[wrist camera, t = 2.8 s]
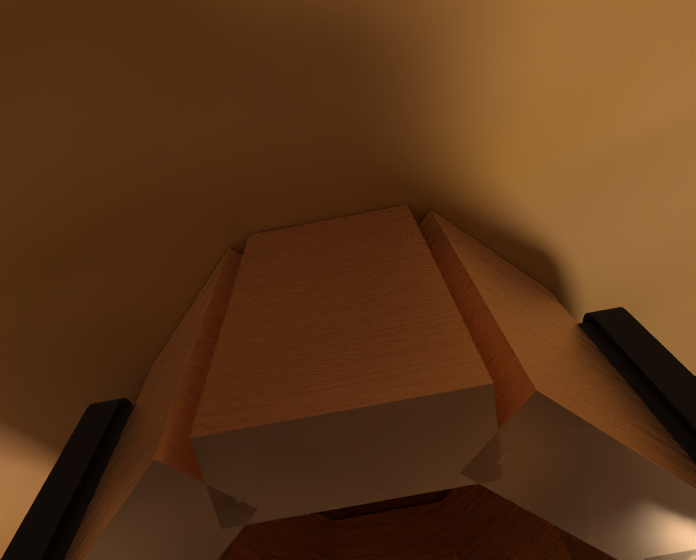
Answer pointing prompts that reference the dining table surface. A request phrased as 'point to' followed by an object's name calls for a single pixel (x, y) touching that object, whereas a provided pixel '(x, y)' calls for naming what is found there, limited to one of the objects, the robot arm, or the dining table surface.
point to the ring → (386, 415)
